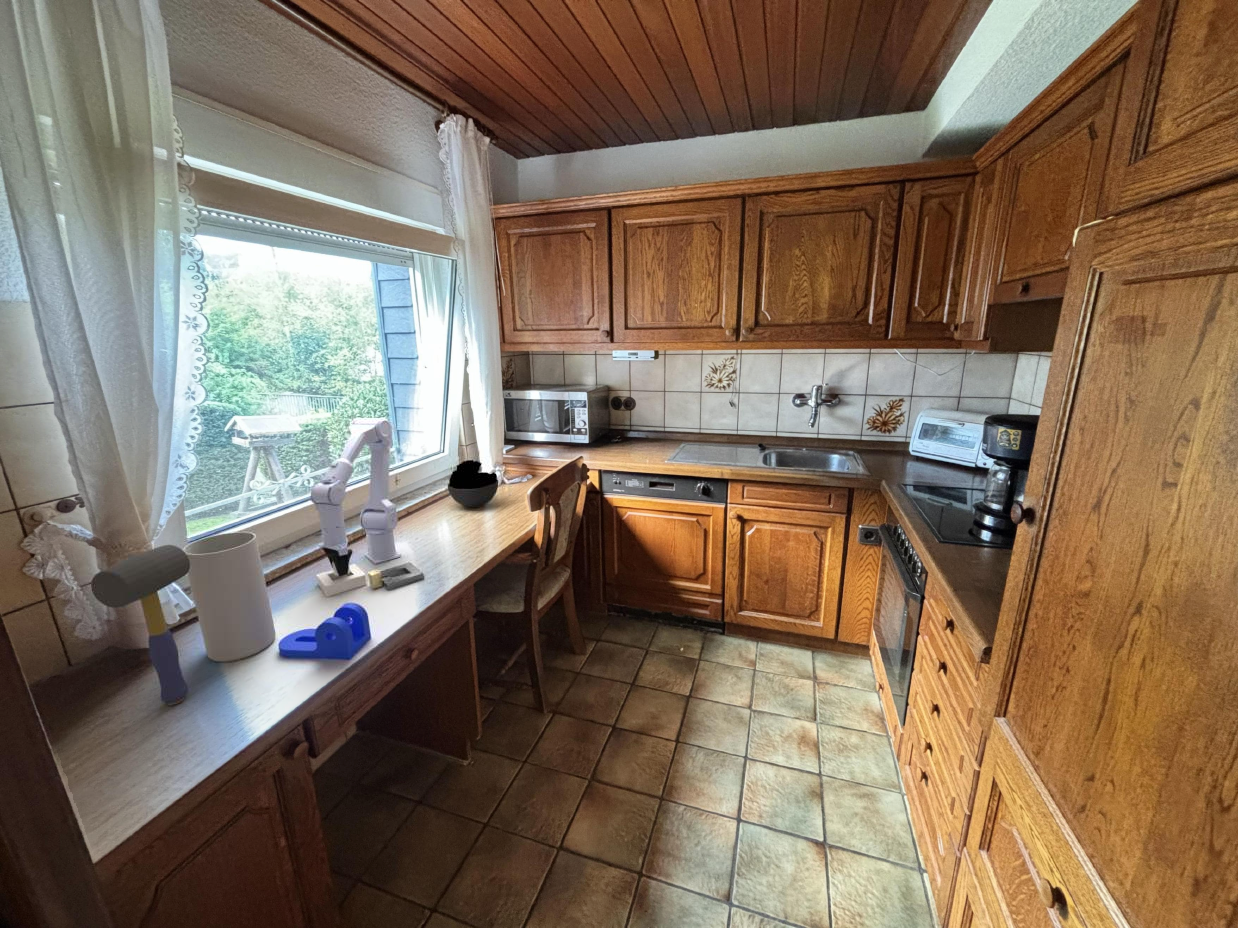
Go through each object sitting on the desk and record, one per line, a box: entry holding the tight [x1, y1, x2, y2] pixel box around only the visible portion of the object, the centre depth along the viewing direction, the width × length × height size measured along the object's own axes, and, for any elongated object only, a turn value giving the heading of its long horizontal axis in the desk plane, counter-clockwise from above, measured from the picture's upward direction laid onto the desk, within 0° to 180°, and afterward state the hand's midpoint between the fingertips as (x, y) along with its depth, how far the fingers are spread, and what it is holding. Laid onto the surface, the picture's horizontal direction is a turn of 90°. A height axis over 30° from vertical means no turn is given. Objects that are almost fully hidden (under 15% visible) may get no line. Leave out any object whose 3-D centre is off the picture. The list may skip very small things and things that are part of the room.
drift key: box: [367, 568, 389, 590], centre depth 142 cm, size 3×5×4 cm, turn 133°
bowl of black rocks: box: [447, 459, 499, 508], centre depth 206 cm, size 20×20×19 cm
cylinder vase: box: [182, 531, 276, 663], centre depth 111 cm, size 12×12×25 cm
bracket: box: [277, 602, 372, 661], centre depth 112 cm, size 18×8×9 cm, turn 86°
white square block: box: [316, 563, 368, 598], centre depth 142 cm, size 10×10×3 cm
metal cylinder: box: [332, 562, 351, 580], centre depth 142 cm, size 4×4×7 cm
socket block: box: [379, 562, 425, 591], centre depth 145 cm, size 10×10×2 cm
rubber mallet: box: [90, 544, 190, 706], centre depth 93 cm, size 12×8×30 cm, turn 175°
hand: (340, 571), depth 142 cm, fingers open, 5 cm apart
